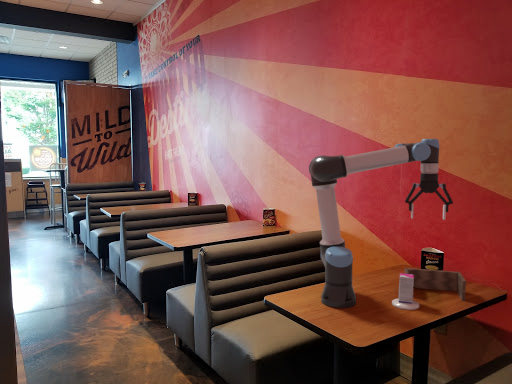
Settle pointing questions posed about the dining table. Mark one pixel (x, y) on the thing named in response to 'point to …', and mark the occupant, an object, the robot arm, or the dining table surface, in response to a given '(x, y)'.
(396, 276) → the dining table surface
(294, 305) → the dining table surface
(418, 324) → the dining table surface
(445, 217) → the robot arm
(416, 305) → the pebble
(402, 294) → the supplement box
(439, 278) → the cubby
